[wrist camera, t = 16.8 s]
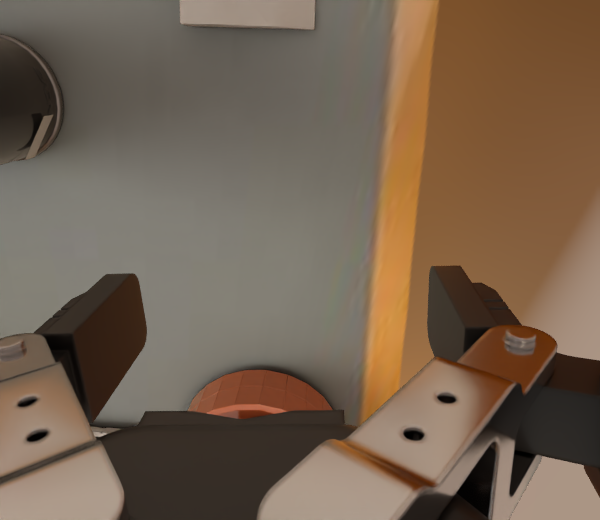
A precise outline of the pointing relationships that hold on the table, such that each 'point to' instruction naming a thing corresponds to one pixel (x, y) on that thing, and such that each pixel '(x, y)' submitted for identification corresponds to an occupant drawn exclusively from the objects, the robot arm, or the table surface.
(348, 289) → the table surface
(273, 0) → the grey stone carving
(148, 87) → the table surface
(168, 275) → the table surface
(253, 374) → the bowl
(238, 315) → the table surface
